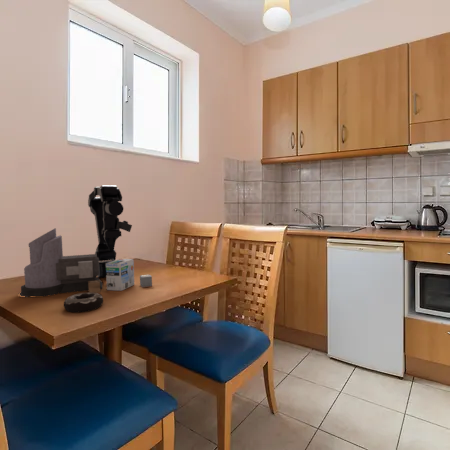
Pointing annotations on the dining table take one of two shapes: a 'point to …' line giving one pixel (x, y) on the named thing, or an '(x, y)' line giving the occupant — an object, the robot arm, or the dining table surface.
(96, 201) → the robot arm
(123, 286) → the light bulb box
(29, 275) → the grey boxy piece
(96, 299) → the donut
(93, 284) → the walnut marked block
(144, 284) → the grey marked block
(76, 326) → the dining table surface
